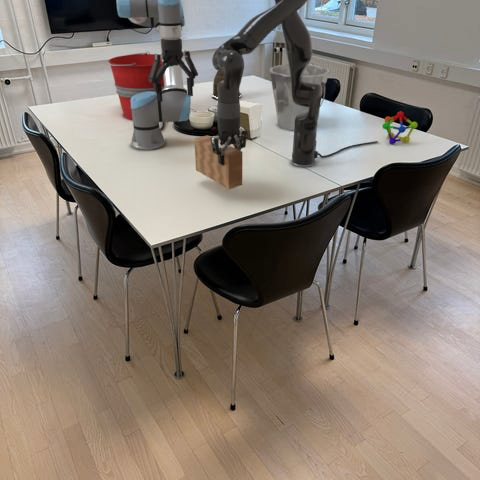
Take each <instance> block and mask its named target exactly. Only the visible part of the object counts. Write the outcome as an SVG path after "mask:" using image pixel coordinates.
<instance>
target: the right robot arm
mask: <svg viewBox="0 0 480 480" xmlns="http://www.w3.org/2000/svg"><path fill="white" fill-rule="evenodd" d="M308 1H309V0H274V3H275V5H273V6H272V7H270V8H268V9H266V10H264V11H262V12H260V13H257V14H256V15H255V16H253V17H252V18H250V19H249V20H248V21H247V22H246V23H245V24H244V25H243V27H242V28H240V30H239V31H238V32H237V34H235V35H233V36H232V37H230V38H229V39H227V40H226V41H225V42H223V43H222V44H221V45H220V46H219V47H217V49H216V50H215V51H214V53H213V55H212V58H211V59H212V60H211V63H212V66H213V68H214V69H215V70H216V71H220V72H223V73H225V77H224V81H221V82H219V84H218V89H217V91H218V100H217V106H216V112H217V113H216V114H217V117H216V119H217V130H218V134H217V135H216V136H210V137H211V138H210V139H211V145H212V151H213V153H214V154H216V155H218V163H219V164H220V165H222V166H223V165H224V153H225V150H226V149H227V147H228V146H232V147H234V148H236V149H238V150H240V151H242V149H245V148H246V146H247V139H248V138H247V137H248V131H247V130H245V129H243V128H241V104H240V103H241V102H240V97H239V91H240V87H241V83H242V80H243V75H244V70H245V61H244V55H250V54H251V53H253V52H254V51H255V50H256V49H257V47H258V46H260V44H261V43H262V42H263V41H264V40H265V38H266V37H268V35H270V34H271V33H272V32H273V31H274V30H275V29H276V28H277V27H278V26H280V25H281V30H282V36H283V40H284V47H285V53H286V58H287V62H288V65H289V69H290V76H291V89H292V98H293V102H294V103H295V104H296V105H298V106H303V107H309V110H308V112H306V113H302V114H299V115H297V116H296V117H295V124H294V130H293V140H292V154H291V164H292V166H295V167H299V168H310V167H313V166H314V163H316V161H315V160H316V159H318V158H319V157H320V158H325V159H326V158H329V157H332V156H334V155H335V154H336V155H337V154H339V153H340V152H342V151H344V150H347V149H351V148H355V147H360V146H366V145H372V144H378V143H379V141H378V140H374V141H369V142H362V143H356V144H352V145H348V146H345V147H343V148H340V149H339V150H337V151H335V152H332V153H330V154H327V155H322V154H321V153H320V152H319V151H317V143H318V142H317V131H318V124H319V123H318V122H319V116H320V111H321V107H320V105H321V103H322V98H323V94H322V87H321V85H320V84H318V83H310V82H304V81H303V78H302V74H303V72H304V70H305V68H306V67H307V65H309V64H310V61H311V60H312V57H313V45H312V37H311V34H310V31H309V29H308V27H307V26H306V23H305V22H304V21H303V18H302V17H301V16H300V14H299V12H298V11H299V10H300V9H301V8H302V7H303V6H305V4H306V3H307V2H308ZM219 141H220V142H219ZM218 143H219V145H218ZM223 144H224V146H223ZM221 150H222V151H221ZM318 156H319V157H318Z"/></svg>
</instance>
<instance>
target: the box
mask: <svg viewBox="0 0 480 480" xmlns="http://www.w3.org/2000/svg"><path fill="white" fill-rule="evenodd" d="M211 137H212V136H210V135H209V134H208V135H203V136H199V137H195V138H194V139H193V142H194V143H193V144H194V159H195V160H194V161H195V162H194V163H195V171H197V173H198V172H199V173H201V174H202V175H203V176H205V177H207V178H209V179H210V180H212V181H213V182H216V184H217V183H218V184H219V185H221V186H223V188H226V189H228V190H232V189H234V188H235V189H236V188H238V187H241V186H243V151H242V150H241V151H240V150H238V149H236V148H234V146H232V145H229V146H228V147H227V149H226V150H225V153H224V165H223V166H222V165H220V164H219V163H218V155H216V154H214V153H213V151H212V145H211V139H210V138H211ZM219 142H220V140H219ZM218 145H219V143H218ZM223 146H224V144H223ZM221 151H222V150H221Z"/></svg>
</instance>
